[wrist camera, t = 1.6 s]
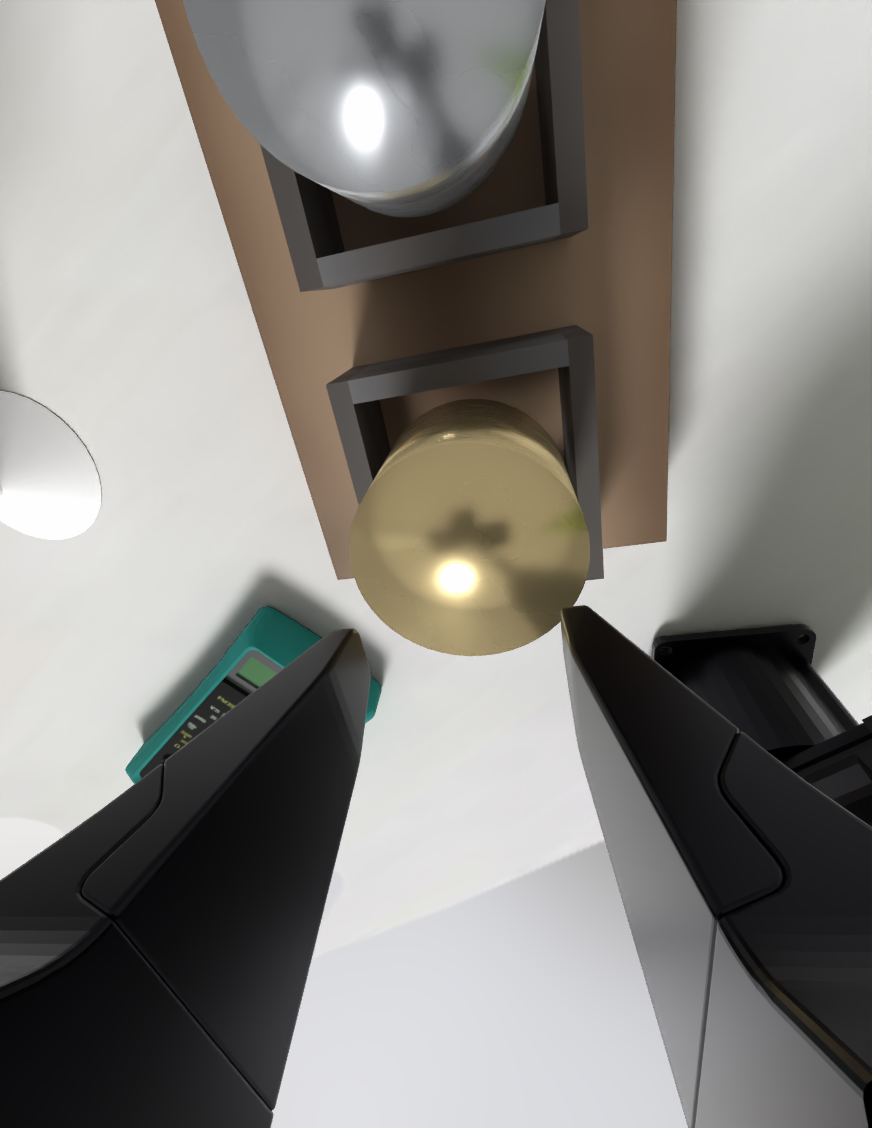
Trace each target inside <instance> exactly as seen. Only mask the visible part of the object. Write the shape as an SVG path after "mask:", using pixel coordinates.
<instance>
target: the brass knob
mask: <svg viewBox="0 0 872 1128" xmlns="http://www.w3.org/2000/svg"><path fill="white" fill-rule="evenodd" d="M349 550H350V562H351V566H352V571H353V575H354V578H355V580H356V583H357V586H358V588H359V590H360V592H361V594H362V595H363V597H364V599H365V601H366V602H367V603H368V605H369V606H370V608H371V609H372V610H373V611H374V613H375V614H376V615H377V616H378V617H379V618H380V619H381V620H382V621H383V622H384V623H385V624H386V625H388V626H389V627H390V628H391V629H392V630H394V631H395V632H397V633H398V634H400V635H401V636H403V637H404V638H406V639H408V640H410V641H412V642H414V643H416V644H418V645H420V646H423V647H425V648H428V649H431V650H435V651H438V652H442V653H447V654H453V655H464V656H483V655H491V654H498V653H502V652H506V651H510V650H513V649H516V648H519V647H521V646H524V645H526V644H528V643H530V642H532V641H534V640H536V639H538V638H539V637H541V636H542V635H544V634H545V633H547V632H549V631H550V630H551V629H552V628H553V627H554V626H556V625H557V624H558V623H559V622H560V621H561V618H560V611H561V609H562V608H564V607H573V605H574V604H575V602H576V601H577V599H578V597H579V595H580V593H581V591H582V589H583V587H584V584H585V581H586V578H587V574H588V569H589V563H590V542H589V534H588V529H587V526H586V523H585V519H584V516H583V514H582V511H581V508H580V505H579V503H578V500H577V497H576V495H575V492H574V489H573V487H572V484H571V481H570V478H569V476H568V473H567V470H566V468H565V465H564V462H563V460H562V457H561V455H560V452H559V450H558V448H557V446H556V444H555V443H554V441H553V439H552V438H551V436H550V435H549V434H548V433H547V431H546V430H545V429H544V428H543V427H542V426H541V425H540V424H539V423H538V422H537V421H536V420H534V419H533V418H532V417H531V416H529V415H527V414H526V413H524V412H523V411H521V410H519V409H517V408H515V407H513V406H511V405H508V404H505V403H501V402H498V401H493V400H487V399H464V400H457V401H453V402H449V403H445V404H443V405H440V406H437V407H435V408H433V409H431V410H429V411H428V412H426V413H424V414H422V415H421V416H420V417H418V418H417V419H416V420H414V421H413V422H412V423H411V424H410V425H409V426H408V427H407V428H406V429H405V430H404V432H403V433H402V434H401V436H400V437H399V438H398V440H397V441H396V443H395V445H394V446H393V448H392V450H391V451H390V453H389V455H388V457H387V458H386V460H385V462H384V463H383V465H382V467H381V469H380V470H379V472H378V474H377V475H376V477H375V479H374V481H373V482H372V484H371V486H370V487H369V489H368V491H367V493H366V494H365V496H364V498H363V500H362V501H361V503H360V505H359V507H358V509H357V512H356V514H355V517H354V520H353V524H352V528H351V533H350V545H349Z"/></svg>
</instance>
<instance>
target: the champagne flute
mask: <svg viewBox="0 0 872 1128" xmlns="http://www.w3.org/2000/svg"><path fill="white" fill-rule="evenodd" d="M100 505H101V485H100V480H99V475H98V472H97V470H96V467H95V464H94V462H93V460H92V458H91V456H90V454H89V453H88V451H87V449H86V447H85V446H84V445H83V443H82V442H81V441H80V439H79V438H78V437H77V435H76V434H75V433H74V432H73V431H72V430H71V429H70V428H69V427H68V426H67V425H66V424H65V423H64V422H63V421H62V420H61V419H60V418H59V417H57V416H56V415H55V414H53V413H52V412H51V411H49V410H48V409H47V408H45V407H43V406H42V405H40V404H38V403H36V402H34V401H33V400H31V399H29V398H26V397H23V396H20V395H18V394H15V393H11V392H5V391H0V521H2V522H3V523H5V524H6V525H8V526H10V527H12V528H14V529H16V530H18V531H20V532H22V533H25V534H28V535H31V536H34V537H38V538H44V539H66V538H71V537H74V536H76V535H78V534H80V533H82V532H84V531H85V530H86V529H87V528H89V527H90V526H91V525H92V524H93V522H94V520H95V519H96V517H97V515H98V512H99V509H100Z"/></svg>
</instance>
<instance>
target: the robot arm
mask: <svg viewBox="0 0 872 1128" xmlns="http://www.w3.org/2000/svg"><path fill="white" fill-rule="evenodd" d="M560 618H561V629H562V640H563V651H564V659H565V666H566V673H567V679H568V686H569V692H570V699H571V705H572V712H573V718H574V725H575V731H576V737H577V742H578V748H579V752H580V756H581V760H582V763H583V767H584V770H585V774H586V777H587V781H588V784H589V788H590V791H591V794H592V798H593V801H594V805H595V808H596V812H597V815H598V819H599V822H600V825H601V829H602V832H603V836H604V839H605V843H606V846H607V849H608V853H609V856H610V860H611V863H612V867H613V870H614V874H615V877H616V880H617V884H618V887H619V891H620V894H621V898H622V901H623V905H624V908H625V911H626V914H627V918H628V922H629V925H630V929H631V932H632V936H633V939H634V942H635V946H636V949H637V953H638V956H639V960H640V963H641V966H642V970H643V973H644V977H645V980H646V984H647V987H648V990H649V994H650V998H651V1001H652V1004H653V1008H654V1011H655V1015H656V1018H657V1021H658V1025H659V1028H660V1032H661V1035H662V1039H663V1042H664V1045H665V1049H666V1053H667V1056H668V1059H669V1063H670V1066H671V1070H672V1073H673V1077H674V1080H675V1084H676V1087H677V1090H678V1094H679V1097H680V1100H681V1104H682V1107H683V1111H684V1115H685V1118H686V1121H687V1125H688V1128H872V715H871V716H869V717H867V718H865V719H863V720H862V721H863V722H864V723H862V724H860V725H859V724H858V722H857V721H856V720H855V719H854V718H853V716H852V715H851V714H850V713H849V711H848V710H847V709H846V708H845V706H844V705H843V704H842V703H841V702H840V700H839V699H838V698H837V697H836V695H835V694H834V693H833V692H832V690H831V689H830V688H829V687H828V686H827V684H826V683H825V682H824V681H823V679H822V678H821V677H820V676H819V674H818V673H817V672H816V671H815V670H814V668H813V667H812V666H811V663H812V658H813V652H814V647H815V641H816V635H815V633H814V632H813V631H812V630H811V629H810V628H809V626H806V625H802V624H798V625H787V626H776V627H764V628H753V629H742V630H730V631H719V632H707V633H696V634H685V635H673V636H663V637H659V638H658V639H656V640H655V641H654V642H653V644H652V658H651V657H650V656H649V655H647V654H646V653H645V652H644V651H642V650H641V649H640V648H639V647H638V646H636V645H635V644H634V643H633V642H631V641H630V640H629V639H628V638H626V637H625V636H624V635H623V634H621V633H620V632H619V631H618V630H617V629H615V628H614V627H613V626H612V625H610V624H609V623H608V622H607V621H605V620H604V619H603V618H602V617H601V616H599V615H598V614H597V613H596V612H594V611H593V610H592V609H591V608H589V607H588V606H585V605H583V606H573V607H564V608H562V609H561V611H560ZM800 635H804V636H803V637H801V638H798V637H799V636H800ZM797 638H798V639H797ZM665 646H669V648H667V649H665V650H661V649H662V648H663V647H665ZM369 687H370V668H369V664H368V661H367V658H366V654H365V651H364V648H363V645H362V642H361V638H360V636H359V634H358V632H357V631H356V630H355V629H343V630H334V631H331V632H330V633H328V634H327V635H326V636H325V637H323V638H322V639H321V640H319V641H318V642H317V643H316V644H314V645H313V646H312V647H310V648H309V649H308V650H307V651H305V652H304V653H303V654H301V655H300V656H299V657H298V658H296V659H295V660H294V661H293V662H291V663H290V664H289V665H287V666H286V667H285V668H284V669H282V670H281V671H280V672H278V673H277V674H276V675H275V676H273V677H272V678H271V679H269V680H268V681H267V682H266V683H264V684H263V685H262V686H260V687H259V688H258V689H257V690H255V691H254V692H253V693H251V694H250V695H249V696H248V697H246V698H245V699H244V700H242V701H241V702H240V703H239V704H237V705H236V706H235V707H233V708H232V709H231V710H230V711H228V712H227V713H226V714H224V715H223V716H222V717H221V718H219V719H218V720H217V721H215V722H214V723H213V724H212V725H210V726H209V727H208V728H206V729H205V730H204V731H203V732H201V733H200V734H199V735H197V736H196V737H195V738H194V739H192V740H191V741H190V742H188V743H187V744H186V745H185V746H183V747H182V748H181V749H179V750H178V751H177V752H176V753H174V754H173V755H172V756H170V757H169V758H168V759H167V760H166V761H165V762H164V765H159V766H157V767H156V768H155V769H154V770H152V771H151V772H150V773H149V774H147V775H146V776H145V777H143V778H142V779H141V780H140V781H138V782H137V783H136V784H134V785H133V786H132V787H130V788H129V789H128V790H126V791H125V792H124V793H123V794H121V795H120V796H119V797H117V798H116V799H115V800H113V801H112V802H111V803H109V804H108V805H107V806H105V807H104V808H103V809H101V810H100V811H98V812H97V813H96V814H94V815H93V816H91V817H90V818H89V819H87V820H86V821H84V822H83V823H82V824H80V825H79V826H77V827H76V828H75V829H73V830H72V831H70V832H69V833H67V834H66V835H65V836H63V837H62V838H60V839H59V840H58V841H56V842H55V843H53V844H52V845H51V846H49V847H48V848H46V849H45V850H43V851H42V852H40V853H39V854H37V855H36V856H35V857H33V858H32V859H30V860H29V861H28V862H26V863H25V864H23V865H22V866H20V867H19V868H17V869H16V870H15V871H13V872H12V873H10V874H9V875H7V876H6V877H4V878H3V879H2V880H0V1128H270V1127H271V1123H272V1119H273V1112H272V1110H273V1109H274V1108H275V1105H276V1101H277V1097H278V1093H279V1089H280V1085H281V1081H282V1077H283V1073H284V1069H285V1064H286V1061H287V1057H288V1053H289V1049H290V1044H291V1040H292V1036H293V1032H294V1028H295V1024H296V1020H297V1016H298V1012H299V1008H300V1004H301V1000H302V996H303V992H304V988H305V984H306V980H307V976H308V971H309V967H310V963H311V959H312V955H313V951H314V947H315V943H316V939H317V935H318V931H319V927H320V923H321V919H322V915H323V911H324V906H325V902H326V898H327V894H328V890H329V886H330V882H331V878H332V874H333V870H334V866H335V862H336V858H337V854H338V850H339V845H340V841H341V837H342V833H343V829H344V825H345V821H346V817H347V813H348V809H349V805H350V801H351V797H352V793H353V789H354V785H355V780H356V776H357V772H358V767H359V763H360V757H361V750H362V743H363V735H364V727H365V719H366V711H367V703H368V695H369Z"/></svg>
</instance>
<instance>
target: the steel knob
mask: <svg viewBox="0 0 872 1128" xmlns="http://www.w3.org/2000/svg"><path fill="white" fill-rule="evenodd" d="M183 2H184V6H185V10H186V14H187V18H188V21H189V24H190V26H191V29H192V32H193V35H194V38H195V41H196V44H197V47H198V49H199V51H200V53H201V56H202V58H203V60H204V62H205V64H206V67H207V69H208V71H209V73H210V75H211V77H212V79H213V81H214V82H215V84H216V86H217V88H218V89H219V91H220V93H221V95H222V96H223V98H224V100H225V101H226V103H227V104H228V106H229V107H230V108H231V110H232V111H233V113H234V114H235V115H236V117H237V118H238V120H239V121H240V122H241V124H242V125H243V126H244V127H245V128H246V129H247V130H248V131H249V133H250V134H251V135H252V136H253V137H254V138H255V139H256V140H257V141H258V143H260V144H261V145H262V146H263V147H264V148H265V149H266V150H267V151H269V152H270V153H271V154H272V155H273V156H274V157H275V158H276V159H278V160H279V161H281V162H282V163H284V164H285V165H287V166H288V167H290V168H291V169H292V170H294V171H295V172H297V173H299V174H301V175H303V176H305V177H307V178H309V179H310V180H312V181H314V182H316V183H318V184H320V185H322V186H324V187H326V188H328V189H330V190H332V191H334V192H336V193H338V194H339V195H341V196H343V197H345V198H347V199H349V200H351V201H353V202H355V203H357V204H359V205H361V206H363V207H365V208H367V209H369V210H371V211H374V212H378V213H381V214H384V215H389V216H395V217H418V216H425V215H430V214H433V213H436V212H439V211H442V210H445V209H447V208H449V207H451V206H453V205H455V204H457V203H458V202H460V201H461V200H463V199H464V198H466V197H467V196H468V195H470V194H471V193H472V192H473V191H475V190H476V189H477V188H478V187H479V186H480V185H481V184H482V183H483V182H484V181H485V180H486V179H487V178H488V176H489V175H490V174H491V173H492V172H493V171H494V169H495V168H496V167H497V165H498V164H499V162H500V161H501V159H502V158H503V156H504V155H505V153H506V151H507V149H508V147H509V145H510V144H511V142H512V140H513V138H514V136H515V133H516V131H517V128H518V126H519V123H520V121H521V118H522V115H523V111H524V108H525V104H526V101H527V97H528V92H529V87H530V81H531V76H532V71H533V66H534V60H535V55H536V50H537V44H538V39H539V34H540V29H541V23H542V18H543V13H544V7H545V2H546V0H183Z"/></svg>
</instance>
